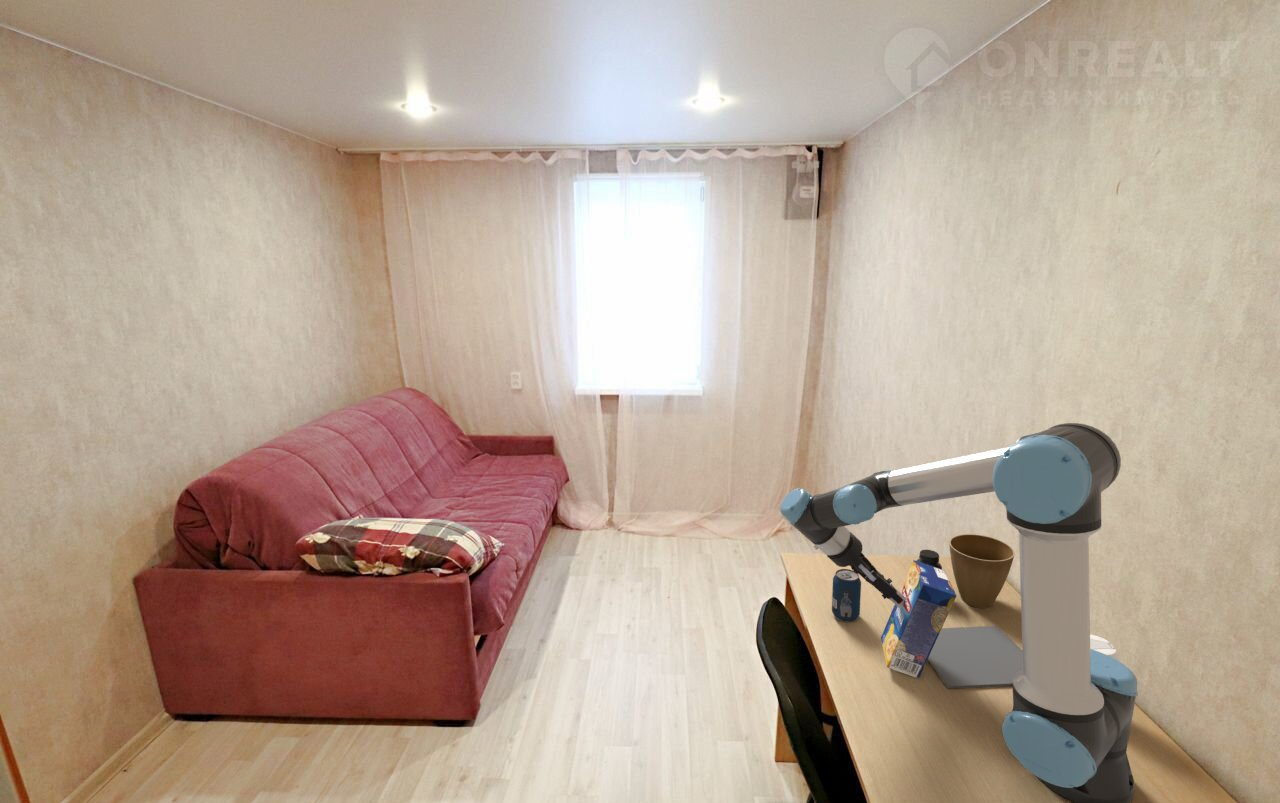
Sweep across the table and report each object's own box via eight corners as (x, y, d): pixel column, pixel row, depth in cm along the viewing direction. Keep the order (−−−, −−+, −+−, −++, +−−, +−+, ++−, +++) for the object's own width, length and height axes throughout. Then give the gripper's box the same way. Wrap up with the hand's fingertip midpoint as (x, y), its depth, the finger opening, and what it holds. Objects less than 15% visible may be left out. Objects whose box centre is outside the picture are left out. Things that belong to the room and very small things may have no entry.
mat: (1054, 683, 123) (1054, 681, 123) (948, 688, 123) (948, 686, 123) (996, 627, 143) (996, 625, 143) (905, 632, 143) (905, 630, 143)
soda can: (849, 606, 154) (851, 566, 152) (865, 621, 148) (867, 579, 145) (826, 610, 153) (827, 569, 151) (840, 625, 146) (842, 583, 144)
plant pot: (941, 582, 164) (945, 531, 161) (1000, 590, 159) (1006, 537, 156) (949, 611, 150) (954, 556, 147) (1015, 620, 145) (1021, 563, 142)
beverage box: (909, 647, 137) (944, 570, 131) (918, 679, 127) (956, 596, 120) (880, 637, 138) (913, 559, 132) (887, 667, 128) (923, 584, 122)
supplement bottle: (907, 590, 161) (909, 550, 159) (924, 583, 164) (927, 545, 161) (928, 601, 155) (931, 561, 152) (945, 595, 158) (949, 555, 155)
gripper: (815, 541, 134) (882, 602, 138) (836, 569, 121) (909, 635, 125) (839, 519, 133) (905, 581, 137) (862, 545, 120) (934, 612, 124)
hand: (907, 606), depth 131 cm, fingers closed
